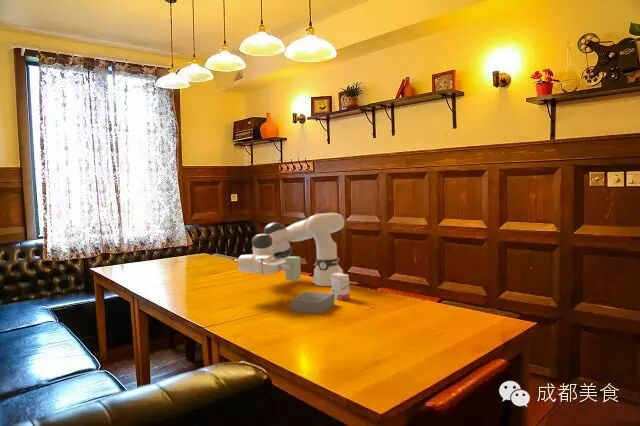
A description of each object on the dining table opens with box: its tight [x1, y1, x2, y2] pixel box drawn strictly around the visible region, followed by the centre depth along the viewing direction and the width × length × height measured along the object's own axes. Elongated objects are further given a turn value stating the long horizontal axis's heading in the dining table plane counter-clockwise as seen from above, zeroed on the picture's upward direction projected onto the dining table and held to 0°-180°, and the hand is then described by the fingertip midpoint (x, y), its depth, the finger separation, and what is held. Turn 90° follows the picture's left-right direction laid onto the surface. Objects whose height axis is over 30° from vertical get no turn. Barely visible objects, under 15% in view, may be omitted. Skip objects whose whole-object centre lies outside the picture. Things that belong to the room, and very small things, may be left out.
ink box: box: [331, 272, 351, 301], centre depth 212 cm, size 9×5×12 cm, turn 33°
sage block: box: [285, 255, 302, 281], centre depth 202 cm, size 5×5×10 cm
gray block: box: [290, 291, 335, 315], centre depth 197 cm, size 16×14×5 cm
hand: (294, 265), depth 202 cm, fingers closed on sage block, 5 cm apart
